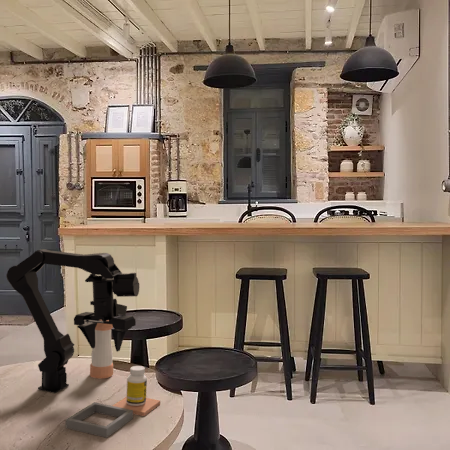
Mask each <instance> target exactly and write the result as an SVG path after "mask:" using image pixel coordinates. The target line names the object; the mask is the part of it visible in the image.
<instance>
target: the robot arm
mask: <svg viewBox="0 0 450 450" xmlns="http://www.w3.org/2000/svg"><path fill="white" fill-rule="evenodd" d="M45 265H52V266H53V265H54V266H58V267H59V266H60V267H68V268H76V269H80V270H82V271H84V272H86V273H89V276H88V277H86V279H85V280H84V281H85V283H92V300H90V302H89V303H90V306H93V312H91V311H85V312H81V313H78V314H75V315H74V317H73V325H75V326H76V327H77V329H79V330H80V331H81V333H82V334H83V336H84V337H85V339H86V341H87V342H88V345H89V346H90V348H91V349H92V348H95V328H96V325H97V323H103V324H112V326H113V328H112V329H111V334H112V337H113V338H112V339H113V343H114V348H115V351H116V352H117V353H118V352H120V350H121V348H122V345H123V341H124V339H125V335H126V333H127V332H128V330H130V329H133V327H135V326H136V322H137V321H136V318H135V316H133V315H127V310H128V306H127V305H123V304H120V303H119V304H118V301H117V300H118V299H117V298H118V297H121V298H122V297H129V298H131V297H138V295H140V282H139V278H138V277H137V272H130V273H123V272H122V271H121V270H120V268H119V267H118V265H116V263H115V260H114V257H113V256H112V254H110V253H108V252H99V253H96V252H95V253H87V254H84V253H83V254H82V253H74V252H67V251H65V252H64V251H56V250H49V249H46V248H42V249H38V250H35V251H34V252H33V253H32V254H30V255H29V256H28V257H27V258H25V259H24V260H22V261H20V262H19V263H18V264H16V265H12V266H10V267H9V268H8V270H7V273H6V276H5V277H6V279H7V282H8V283H9V284H10V286H11V287H12V289H13V290H14V291H15V292H17V293H18V294H20V295H21V296H22V298H23V300H24V302H25V305H26V306H27V308H28V311H29V313H30V314H31V316H32V318H33V320H34V323H35V325H36V326H37V329H38V330H39V332H40V335H41V337H42V338H43V352H44V356H45V358H43V360H41V361H40V362H39V363H38V364H37V366H38V369H39V372H41V386H39V387H37V390H38V391H39V390H40V391H45V392H49V393H57V392H60V391H62V390H64V389H65V388H67V387H69V385H70V384H69V383H67V379H68V378H67V377H68V373H67V372H66V370H67V369H66V367H65V365H67V364H68V362H69V360H70V359H72V358H73V357H74V353H75V348H74V346H75V344H74V343H73V341H72V339H71V336H70V334H69V333H66V334H63V333H62V332H61V331H60V329H58V327H57V324H56V323H55V321H54V319H53V317H52V314H51V313H50V311H49V310H50V309H49V308H48V306H47V305H46V302H45V300H44V298H43V296H42V294H41V292H40V290H39V278H38V275H37V273H38V272H39V271H40V270H42V268H43V267H44V266H45ZM114 295H115V296H116V297H117V298H114ZM106 320H109V321H106Z"/></svg>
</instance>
